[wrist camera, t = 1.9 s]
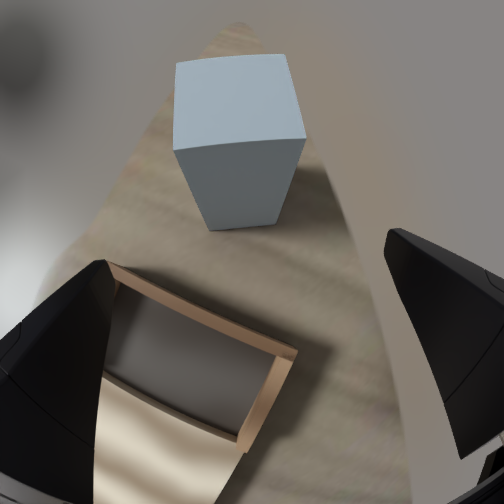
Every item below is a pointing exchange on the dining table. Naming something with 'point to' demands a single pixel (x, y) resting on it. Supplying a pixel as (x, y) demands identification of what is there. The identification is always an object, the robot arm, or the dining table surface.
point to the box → (178, 396)
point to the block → (237, 136)
